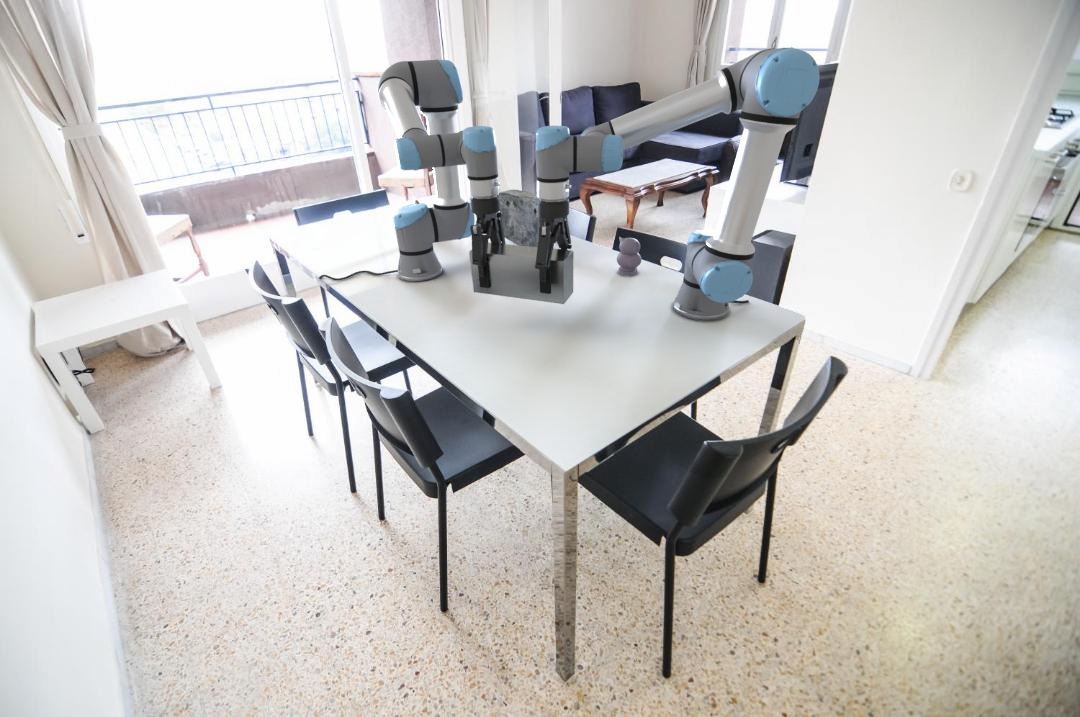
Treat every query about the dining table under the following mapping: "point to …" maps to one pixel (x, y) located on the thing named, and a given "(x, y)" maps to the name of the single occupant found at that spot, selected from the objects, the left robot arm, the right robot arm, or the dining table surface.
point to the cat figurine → (628, 256)
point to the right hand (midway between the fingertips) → (554, 282)
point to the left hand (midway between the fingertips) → (492, 280)
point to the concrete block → (520, 217)
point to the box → (525, 273)
